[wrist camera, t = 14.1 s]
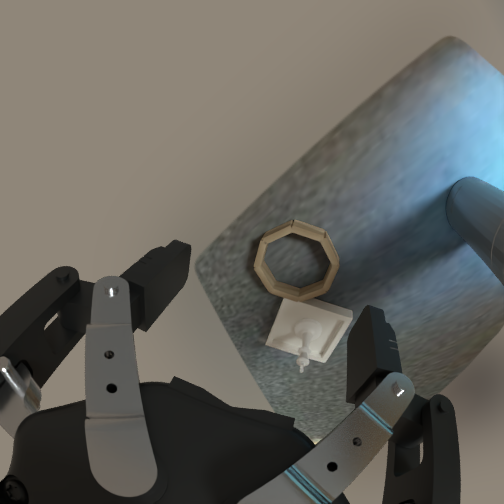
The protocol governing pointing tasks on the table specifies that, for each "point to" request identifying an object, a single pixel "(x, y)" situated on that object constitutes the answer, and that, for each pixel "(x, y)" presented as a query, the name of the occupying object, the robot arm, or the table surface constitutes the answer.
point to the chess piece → (306, 338)
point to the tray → (323, 312)
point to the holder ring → (289, 290)
